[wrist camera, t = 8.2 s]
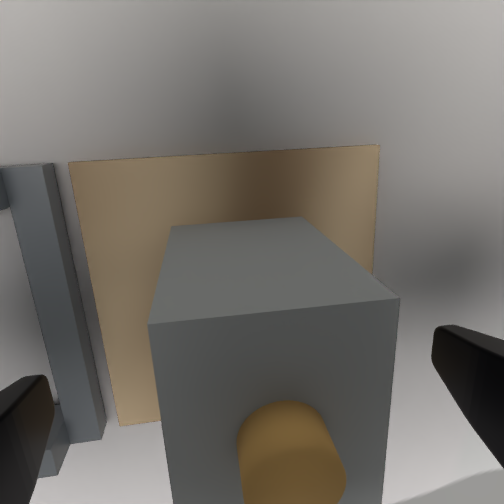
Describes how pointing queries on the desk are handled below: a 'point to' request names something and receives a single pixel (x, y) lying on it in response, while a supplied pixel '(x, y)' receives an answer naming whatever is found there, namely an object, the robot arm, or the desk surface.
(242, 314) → the cable plug
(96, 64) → the desk surface
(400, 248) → the desk surface
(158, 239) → the cork pad
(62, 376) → the grey square frame
